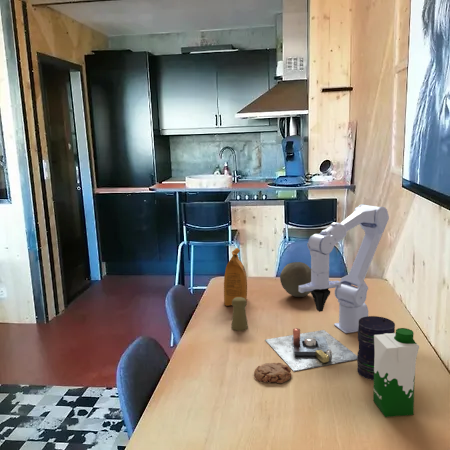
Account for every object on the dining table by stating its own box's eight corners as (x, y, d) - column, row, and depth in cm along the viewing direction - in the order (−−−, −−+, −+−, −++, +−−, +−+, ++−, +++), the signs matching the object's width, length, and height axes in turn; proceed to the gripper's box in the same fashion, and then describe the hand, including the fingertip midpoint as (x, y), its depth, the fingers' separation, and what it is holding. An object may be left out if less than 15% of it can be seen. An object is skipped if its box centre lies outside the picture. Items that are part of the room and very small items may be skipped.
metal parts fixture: (291, 339, 149) (291, 322, 148) (325, 340, 148) (325, 322, 147) (295, 362, 134) (295, 343, 133) (332, 362, 133) (332, 343, 132)
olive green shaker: (246, 331, 158) (246, 301, 156) (229, 330, 160) (229, 300, 157) (249, 324, 164) (248, 295, 162) (232, 323, 165) (232, 295, 163)
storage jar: (374, 384, 122) (376, 333, 119) (349, 369, 131) (350, 320, 128) (401, 375, 127) (403, 325, 124) (374, 360, 135) (376, 313, 132)
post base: (323, 330, 157) (324, 321, 156) (360, 359, 136) (360, 348, 136) (265, 340, 151) (264, 331, 150) (293, 371, 130) (293, 361, 130)
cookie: (248, 373, 131) (248, 363, 130) (280, 365, 135) (280, 355, 134) (264, 389, 122) (264, 379, 121) (298, 380, 126) (298, 370, 125)
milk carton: (419, 417, 108) (423, 338, 104) (382, 419, 107) (385, 341, 103) (401, 396, 116) (405, 323, 113) (367, 399, 116) (370, 325, 112)
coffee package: (250, 297, 192) (249, 246, 188) (246, 307, 180) (244, 254, 176) (227, 296, 194) (225, 246, 190) (221, 306, 182) (219, 253, 178)
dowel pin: (330, 358, 137) (330, 349, 136) (332, 360, 135) (332, 351, 135) (325, 358, 136) (325, 350, 136) (328, 361, 135) (328, 352, 134)
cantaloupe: (290, 289, 201) (290, 256, 198) (320, 295, 192) (320, 261, 190) (274, 299, 189) (274, 264, 187) (305, 305, 181) (305, 269, 178)
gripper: (333, 265, 153) (332, 303, 155) (294, 270, 148) (294, 309, 151) (344, 270, 146) (344, 310, 148) (304, 275, 142) (303, 316, 144)
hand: (319, 310), depth 149 cm, fingers closed
